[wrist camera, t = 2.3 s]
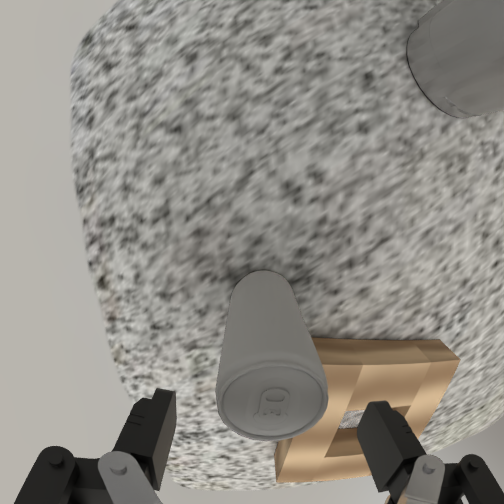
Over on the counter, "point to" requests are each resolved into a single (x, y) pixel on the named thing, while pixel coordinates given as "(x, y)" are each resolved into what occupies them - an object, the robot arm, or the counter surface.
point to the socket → (365, 401)
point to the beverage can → (268, 363)
